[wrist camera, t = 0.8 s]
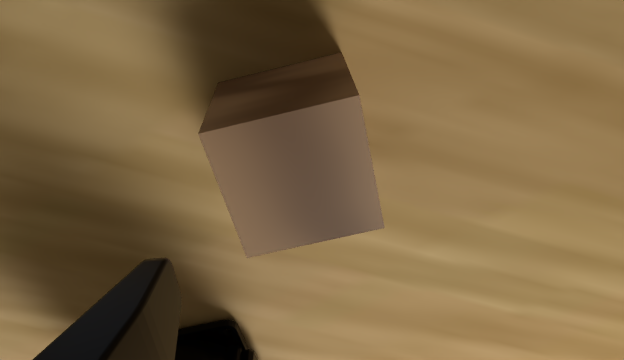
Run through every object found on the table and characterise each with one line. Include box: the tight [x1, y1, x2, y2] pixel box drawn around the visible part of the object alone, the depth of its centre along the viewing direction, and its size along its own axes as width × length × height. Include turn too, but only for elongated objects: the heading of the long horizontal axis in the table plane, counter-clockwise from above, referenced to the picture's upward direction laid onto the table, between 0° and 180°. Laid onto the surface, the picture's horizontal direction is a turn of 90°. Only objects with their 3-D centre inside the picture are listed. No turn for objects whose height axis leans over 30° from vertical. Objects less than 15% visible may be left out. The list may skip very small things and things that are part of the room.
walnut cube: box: [198, 52, 384, 258], centre depth 17 cm, size 5×5×5 cm
